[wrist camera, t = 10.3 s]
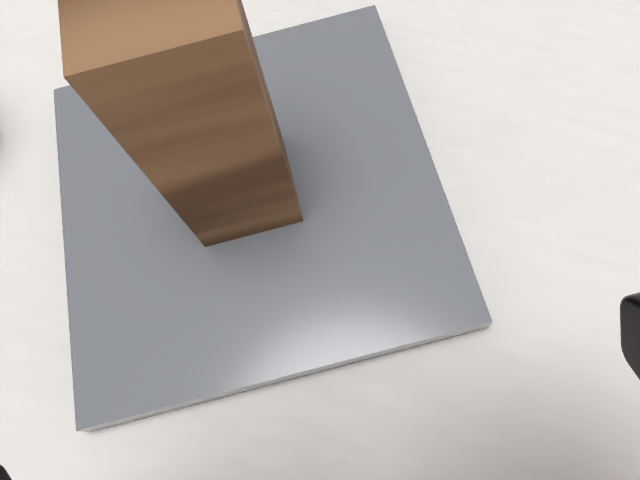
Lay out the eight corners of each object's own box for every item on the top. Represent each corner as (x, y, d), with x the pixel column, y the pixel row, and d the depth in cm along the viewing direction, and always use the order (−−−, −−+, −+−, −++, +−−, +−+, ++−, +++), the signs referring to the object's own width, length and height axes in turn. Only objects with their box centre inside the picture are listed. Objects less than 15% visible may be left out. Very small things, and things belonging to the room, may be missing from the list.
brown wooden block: (303, 221, 23) (243, 29, 12) (205, 247, 23) (63, 76, 12) (282, 137, 24) (212, -95, 14) (190, 161, 24) (53, -53, 14)
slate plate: (487, 327, 21) (492, 321, 20) (89, 431, 21) (76, 430, 20) (375, 20, 27) (374, 5, 26) (64, 102, 27) (53, 89, 26)
